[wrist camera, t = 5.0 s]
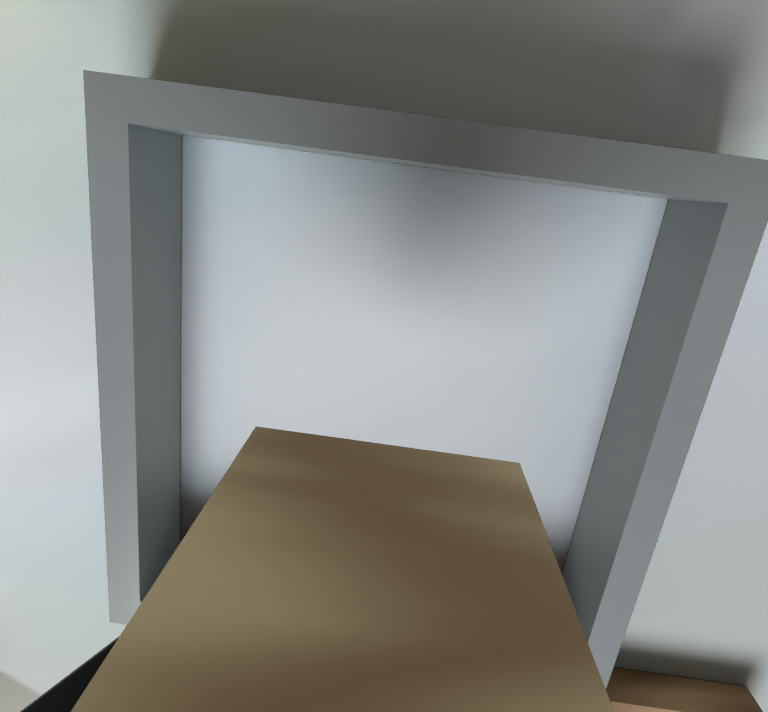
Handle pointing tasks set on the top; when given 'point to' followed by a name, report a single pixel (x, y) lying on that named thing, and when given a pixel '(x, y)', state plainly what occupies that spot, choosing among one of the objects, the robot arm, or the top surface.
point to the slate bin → (433, 150)
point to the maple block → (356, 593)
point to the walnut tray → (675, 694)
